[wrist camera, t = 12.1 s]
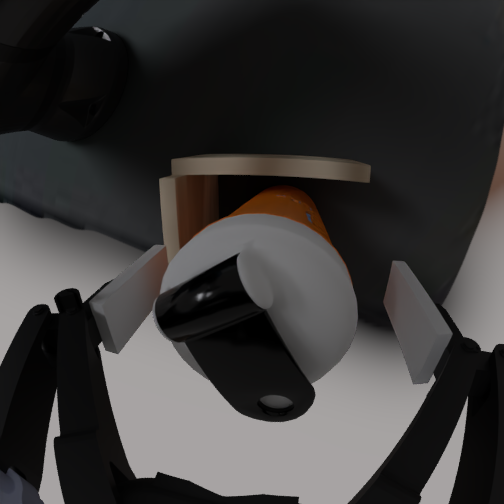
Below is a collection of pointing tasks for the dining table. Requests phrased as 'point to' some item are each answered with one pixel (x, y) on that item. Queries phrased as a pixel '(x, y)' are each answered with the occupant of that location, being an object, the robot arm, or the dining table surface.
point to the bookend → (211, 165)
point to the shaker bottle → (261, 304)
